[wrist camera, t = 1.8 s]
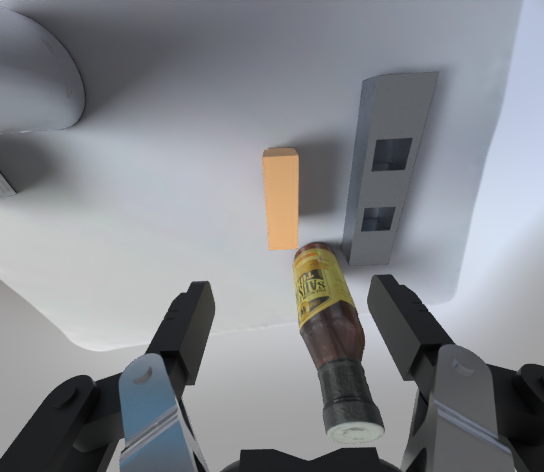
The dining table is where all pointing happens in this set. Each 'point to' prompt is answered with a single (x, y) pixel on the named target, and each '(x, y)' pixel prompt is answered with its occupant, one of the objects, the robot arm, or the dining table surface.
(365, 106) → the rail
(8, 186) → the supplement box
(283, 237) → the orange block
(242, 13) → the dining table surface
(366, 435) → the sauce bottle
